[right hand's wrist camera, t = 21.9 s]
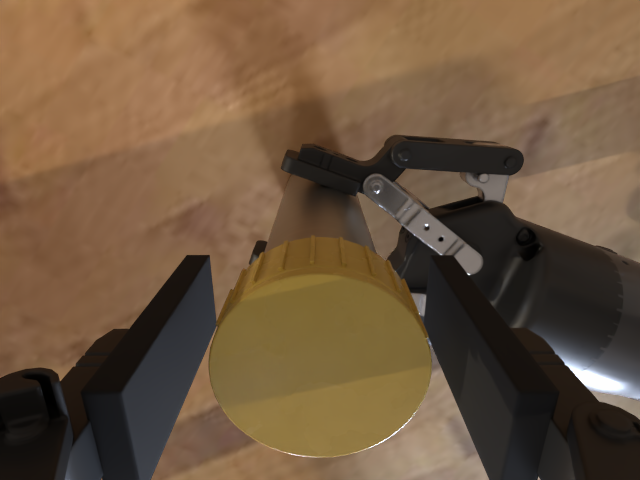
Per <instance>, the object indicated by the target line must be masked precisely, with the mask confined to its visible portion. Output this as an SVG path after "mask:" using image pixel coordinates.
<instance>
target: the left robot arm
mask: <svg viewBox="0 0 640 480" xmlns="http://www.w3.org/2000/svg"><path fill="white" fill-rule="evenodd" d="M523 162H524V158H523V155H522V153H521V152H520V151H519V150H517V149H514V148H511V147H508V146H505V145H502V144H499V143H496V142H489V141H475V140H461V139H447V138H433V137H419V136H405V135H393V136H391V137H389V138H388V139H387V140H386V142H385V144H384V147H383V148H382V149H381V150H380V151H379V152H378V153H377V155H376V156H375V157H373V158H372V159H370V160H368V161H359V160H356V159H353V158H350V157H348V156H345V155H342V154H340V153H337V152H334V151H331V150H329V149H326V148H323V147H321V146H318V145H315V144H302V147H301V150H300V153H299V152H296V151H293V150H287V152H286V154H285V156H284V159H283V162H282V165H281V169H282V170H284V171H285V172H288V173H290V174H293V175H296V176H299V177H301V178H304V179H307V180H310V181H313V182H315V183H318V184H321V185H324V186H327V187H329V188H332V189H336V190H338V191H341V192H343V193H346V194H349V195H352V196H355V197H356V194H357V192H360V193H363V194H365V195H366V196H367V197H368V198H370V199H371V200H372V201H374V202H375V203H376V204H377V205H379V206H380V207H381V208H383V209H384V210H385V211H386V212H388V213H389V214H390V215H392V216H393V217H394V218H395V219H396V220H397V221H398V222H399V223H400V224H401V225H402V228H401V230H400V232H399V238H398V244H397V247H396V248H395V250H394V251H393V252H392V253H391V254H390V256H389V257H388V258H387V260H389V261H390V263H391V265H392V268H393V269H394V270H395V271H396V272H397V274H398V275H399V277H400V278H401V280H402V279H405V281H406V283H407V286H408V288H409V290H410V293H411V295H412V297H413V300H414V302H415V304H416V306H417V309H418V311H419V315H420V317H421V320H422V322H423V324H424V314H425V304H426V294H427V284H428V275H429V265H430V255H453V256H454V257H455V258H456V259H457V261H458V262H459V263H460V265H461V266H462V267H463V268H464V270H465V271H466V272H467V274H468V275H469V276H470V277H471V279H472V280H473V281H474V283H475V284H476V285H477V286H478V288H479V289H480V290H481V292H482V293H483V294H484V295H485V297H486V298H487V299H488V300H489V302H490V303H491V304H492V306H493V307H494V308H495V309H496V311H497V312H498V313H499V315H500V316H501V317H502V318H503V320H504V321H505V322H506V324H507V325H508V326H509V327H510V328H528V329H529V330H531V331H532V332H534V333H535V334H537V335H539V336H540V337H542V338H543V339H544V340H545V341H546V342H547V343H548V344H549V345H550V346H551V348H552V349H553V350H554V351H555V354H558V356H559V357H560V358H561V359H562V360H563V361H564V362H565V365H567V366H568V367H569V368H570V369H571V370H572V371H573V373H574V374H575V375H576V376H577V377H578V378H579V379H580V381H581V382H582V383H583V384H584V385H585V386H586V387H587V388H588V390H591V391H595V392H601V393H607V394H614V395H620V396H624V397H628V398H631V399H634V400H637V401H640V263H638V262H636V261H633V260H631V259H628V258H626V257H623V256H620V255H618V254H617V253H615V252H613V250H610V249H608V248H605V247H601V246H593V245H591V244H588V243H585V242H583V241H580V240H577V239H574V238H572V237H569V236H566V235H564V234H561V233H558V232H555V231H553V230H550V229H547V228H545V227H542V226H539V225H536V224H534V223H531V222H528V221H526V220H523V219H520V218H518V217H515V216H514V214H513V213H512V212H511V210H510V209H509V208H508V207H507V206H506V205H505V204H503V200H504V195H505V191H506V187H507V183H508V178H509V175H513V174H515V173H517V172H518V171H519V170H520V169H521V167H522V165H523ZM406 168H407V169H422V170H436V171H451V172H460V177H461V179H462V180H463V181H465V182H466V183H467V184H469V185H470V186H472V187H476V188H477V190H478V196H476V197H472V198H468V199H464V200H461V201H457V202H453V203H450V204H446V205H442V206H438V207H435V208H429V207H428V206H427V205H426V204H424V203H423V202H422V201H421V200H419V199H418V198H417V197H416V196H414V195H413V194H412V193H411V192H409V191H408V190H407V189H406V188H404V187H402V186H401V185H400V184H399V183H397V182H396V181H395V180H396V179H397V178H398V177H399V176H400V175H401V173H402V172H403V171H404V170H405V169H406ZM267 243H268V242H266V241H257V242H256V245H255V247H254V249H253V252H252V255H251V258H250V261H249V264H250V265H251V264H252V263H253V262H254V261H255V260H256V259H258V258H259V256H260V253H262V252H264V251H265V248H266V246H267ZM427 340H428V344H429V345H431V342H430V340H429V338H427Z"/></svg>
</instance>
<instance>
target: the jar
mask: <svg viewBox="0 0 640 480" xmlns="http://www.w3.org/2000/svg"><path fill="white" fill-rule="evenodd" d="M312 235H315V237H329V238H337V239H339V237H343V240H347V241H350V242H353V243H356V244H359V245H361V246H363V247H365V245H366V246H368V247H369V249H370V250H371V251H373V252H374V253H376V250H375V247H374V244H373V241H372V238H371V235H370V232H369V229H368V226H367V223H366V220H365V217H364V214H363V211H362V208H361V205H360V202H359V199H358V196H357V194H356V197H355V196H352V195H349V194H346V193H343V192H341V191H338V190H336V189H332V188H329V187H327V186H324V185H321V184H318V183H315V182H313V181H310V180H307V179H304V178H301V177H299V176H296V175H293V174H292V175H291V176H290V178H289V180H288V183H287V186H286V189H285V192H284V195H283V198H282V201H281V204H280V207H279V210H278V213H277V216H276V219H275V222H274V225H273V228H272V231H271V234H270V237H269V240H268V243H267V246H266V248H265V251H264V253H266V252H268V251H269V250H271V249H273V248H275V247H277V246H279V245H281V244H284V241H286V240H288V242H290V241H293V240H298V239H303V238H311V236H312ZM376 254H377V253H376Z"/></svg>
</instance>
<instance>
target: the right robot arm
mask: <svg viewBox="0 0 640 480" xmlns="http://www.w3.org/2000/svg"><path fill="white" fill-rule="evenodd" d="M215 324H216V314H215V304H214V294H213V284H212V275H211V265H210V255H187V256H186V257H185V258H184V259H183V261H182V262H181V263H180V265H179V266H178V267H177V268H176V270H175V271H174V272H173V274H172V275H171V276H170V277H169V279H168V280H167V281H166V283H165V284H164V285H163V286H162V288H161V289H160V290H159V292H158V293H157V294H156V295H155V297H154V298H153V299H152V300H151V302H150V303H149V304H148V306H147V307H146V308H145V309H144V311H143V312H142V313H141V315H140V316H139V317H138V318H137V320H136V321H135V322H134V324H133V325H132V326H131V327H130V329H113V330H112V331H110V332H108V333H107V334H105V335H104V336H102V337H101V338H99V339H98V340H96V341H95V342H94V344H93V345H92V346H91V347H90V348H89V349H88V350H87V352H86V353H85V356H82V357H81V359H80V360H79V361H78V362H77V363H76V366H75V367H73V368H72V369H71V370H70V371H69V372H68V373H67V375H66V376H65V377H64V378H63V379H62V380H61V381H60V380H59V377H58V374H57V373H56V372H54V371H53V370H52V369H46V368H32V369H24V370H21V371H18V372H14V373H11V374H8V375H6V376H4V377H2V378H0V480H101V478H102V479H103V480H151V478H152V475H153V473H154V471H155V468H156V466H157V464H158V461H159V459H160V457H161V454H162V452H163V450H164V447H165V445H166V443H167V440H168V438H169V436H170V433H171V431H172V429H173V426H174V424H175V422H176V419H177V417H178V415H179V412H180V410H181V408H182V405H183V403H184V401H185V398H186V396H187V394H188V391H189V389H190V387H191V384H192V382H193V380H194V377H195V375H196V373H197V370H198V368H199V366H200V363H201V361H202V359H203V356H204V354H205V352H206V349H207V347H208V345H209V342H210V340H211V338H212V335H213V333H214V331H215V328H216V325H215ZM424 327H425V329H426V331H427V333H428V337H429V340H430V342H431V345H432V347H433V349H434V352H435V354H436V356H437V359H438V361H439V363H440V366H441V368H442V370H443V373H444V375H445V377H446V380H447V382H448V384H449V387H450V389H451V391H452V394H453V396H454V398H455V401H456V403H457V405H458V408H459V410H460V412H461V415H462V417H463V419H464V422H465V424H466V426H467V429H468V431H469V433H470V436H471V438H472V440H473V443H474V445H475V447H476V450H477V452H478V454H479V457H480V459H481V461H482V464H483V466H484V468H485V471H486V473H487V475H488V478H489V480H537V479H538V476H539V478H540V479H541V480H640V420H639V419H638V418H637V417H636V416H634V415H632V414H630V413H629V412H627V411H625V410H623V409H621V408H619V407H616V406H613V405H610V404H607V403H603V402H599V401H598V400H597V399H596V398H595V396H594V395H593V394H592V393H591V392H590V391H589V390H588V388H587V387H586V386H585V385H584V384H583V383H582V382H581V381H580V379H579V378H578V377H577V376H576V375H575V374H574V373H573V371H572V370H571V369H570V368H569V367H568V366H567V365H565V362H564V361H563V360H562V359H561V358H560V357H559V356H558V354H555V351H554V350H553V349H552V348H551V346H550V345H549V344H548V343H547V342H546V341H545V340H544V339H543V338H542V337H540V336H539V335H537V334H535V333H534V332H532V331H531V330H529V329H528V328H510V327H509V326H508V325H507V324H506V322H505V321H504V320H503V318H502V317H501V316H500V315H499V313H498V312H497V311H496V309H495V308H494V307H493V306H492V304H491V303H490V302H489V300H488V299H487V298H486V297H485V295H484V294H483V293H482V292H481V290H480V289H479V288H478V286H477V285H476V284H475V283H474V281H473V280H472V279H471V277H470V276H469V275H468V274H467V272H466V271H465V270H464V268H463V267H462V266H461V265H460V263H459V262H458V261H457V259H456V258H455V257H454V256H453V255H430V265H429V275H428V284H427V294H426V304H425V314H424Z"/></svg>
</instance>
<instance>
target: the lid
mask: <svg viewBox="0 0 640 480" xmlns="http://www.w3.org/2000/svg"><path fill="white" fill-rule="evenodd" d="M215 325H216V326H218V328H217V330H216V333H215V335H214V338H213V341H212V344H211V347H210V355H209V375H210V381H211V386H212V388H213V391H214V394H215V397H216V399H217V401H218V403H219V405H220V406H221V408H222V409H223V411H224V412H225V414H226V415H227V416H228V418H229V419H230V420H231V421H232V422H233V423H234V424H235V425H236V426H237V427H238V428H239V429H240V430H242V431H243V432H244V433H245V434H247V435H248V436H250V437H251V438H253V439H254V440H256V441H258V442H260V443H262V444H264V445H266V446H268V447H270V448H273V449H275V450H278V451H281V452H285V453H288V454H292V455H298V456H305V457H336V456H342V455H348V454H352V453H356V452H360V451H362V450H365V449H368V448H371V447H373V446H375V445H377V444H379V443H381V442H383V441H384V440H386V439H388V438H389V437H391V436H392V435H394V434H395V433H396V432H397V431H399V430H400V429H401V428H402V427H403V426H404V425H405V424H406V423H407V422H408V421H409V420H410V419H411V418H412V417H413V415H414V414H415V413H416V411H417V410H418V409H419V407H420V405H421V403H422V401H423V400H424V398H425V395H426V392H427V390H428V387H429V382H430V377H431V366H432V360H431V352H430V347H429V344H428V340H427V338H429V337H428V333H427V331H426V329H425V327H424V324H423V322H422V320H421V317H420V315H419V311H418V309H417V306H416V304H415V302H414V300H413V297H412V295H411V293H410V290H409V288H408V286H407V283H406V281H405V279H402V280H401V278H400V277H399V275H398V274H397V272H396V271H395V270H394V269H393V268H392V265H391V263H390V261H389V260H387V261H385V260H384V259H383V258H382V257H380V256H379V255H377V254H376V253H374V252H373V251H371V250H370V249H369V247H368V246H366V245H365V247H363V246H361V245H359V244H356V243H353V242H350V241H347V240H343V237H339V239H337V238H329V237H315V235H312V236H311V238H303V239H298V240H293V241H290V242H288V240H286V241H284V244H281V245H279V246H277V247H275V248H273V249H271V250H269V251H268V252H266V253H264V252H262V253H260V256H259V258H258V259H256V260H255V261H254V262H253V263H252V264H251V265H250V266H249V267H248V268H247V269H246V270H245V269H243V270H242V271H241V274H240V276H239V279H238V281H237V283H236V286H235V288H234V290H232V289H231V290H230V292H229V295H228V297H227V299H226V301H225V304H224V306H223V308H222V311H221V313H220V315H219V317H218V320H217V322H216V324H215Z"/></svg>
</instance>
